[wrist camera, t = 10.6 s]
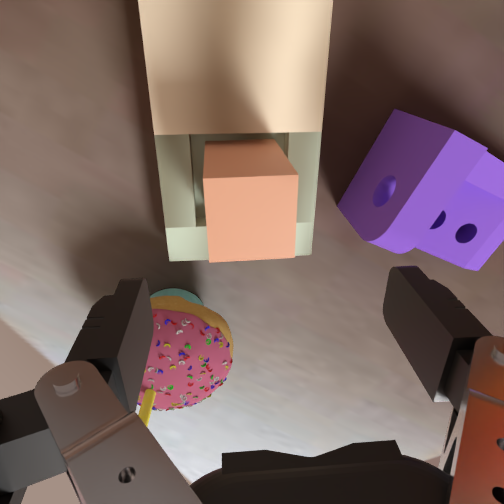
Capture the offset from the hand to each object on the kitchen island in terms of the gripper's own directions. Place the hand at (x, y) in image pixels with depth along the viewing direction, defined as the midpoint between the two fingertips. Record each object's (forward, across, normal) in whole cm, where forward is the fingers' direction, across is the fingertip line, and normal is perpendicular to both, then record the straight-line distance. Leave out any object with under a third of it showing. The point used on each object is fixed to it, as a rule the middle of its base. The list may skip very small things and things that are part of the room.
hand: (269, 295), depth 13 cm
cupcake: (+13, +6, +10) cm, 18 cm away
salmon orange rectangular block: (+12, 0, 0) cm, 12 cm away
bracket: (+14, -13, +2) cm, 19 cm away
